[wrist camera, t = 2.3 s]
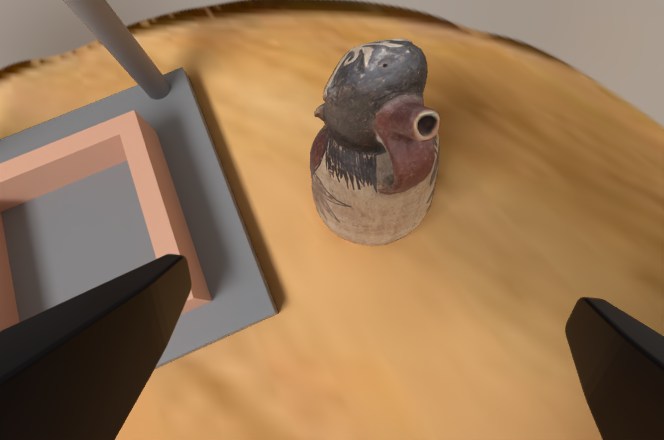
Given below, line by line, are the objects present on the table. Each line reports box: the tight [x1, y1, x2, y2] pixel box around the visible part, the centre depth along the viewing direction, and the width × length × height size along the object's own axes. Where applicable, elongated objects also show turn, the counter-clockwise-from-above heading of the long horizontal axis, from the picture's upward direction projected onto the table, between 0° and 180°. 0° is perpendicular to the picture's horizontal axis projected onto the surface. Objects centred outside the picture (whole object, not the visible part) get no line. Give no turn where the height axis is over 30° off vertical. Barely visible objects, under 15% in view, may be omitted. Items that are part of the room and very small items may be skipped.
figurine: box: [310, 39, 440, 246], centre depth 17 cm, size 7×7×12 cm
